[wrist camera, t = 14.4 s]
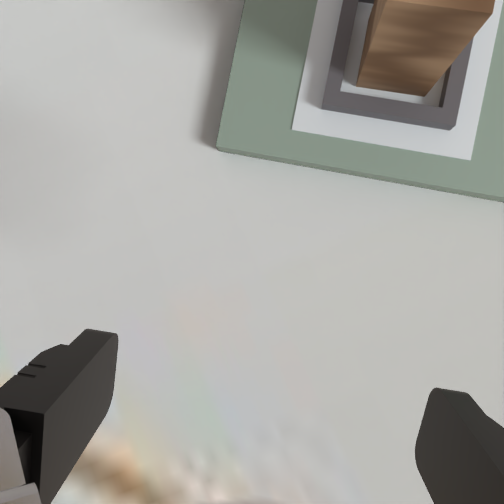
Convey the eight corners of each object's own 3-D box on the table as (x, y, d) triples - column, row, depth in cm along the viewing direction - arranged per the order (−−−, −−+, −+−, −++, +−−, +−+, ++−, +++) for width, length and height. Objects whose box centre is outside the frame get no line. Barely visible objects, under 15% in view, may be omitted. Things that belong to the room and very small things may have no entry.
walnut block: (355, 86, 29) (391, -12, 19) (368, 19, 29) (411, -117, 19) (424, 96, 29) (501, 2, 18) (437, 29, 29) (522, -106, 18)
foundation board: (219, 151, 32) (212, 141, 29) (262, -64, 32) (259, -94, 29) (529, 206, 30) (553, 202, 27) (577, -23, 30) (605, -51, 27)
